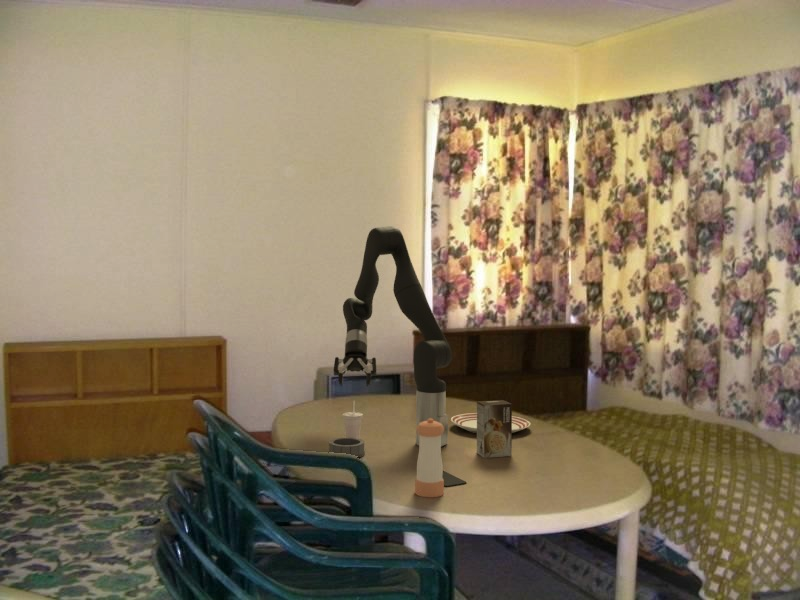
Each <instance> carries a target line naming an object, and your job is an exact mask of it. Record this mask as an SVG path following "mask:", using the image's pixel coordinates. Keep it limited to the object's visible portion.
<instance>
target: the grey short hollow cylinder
mask: <svg viewBox="0 0 800 600" xmlns="http://www.w3.org/2000/svg"><path fill="white" fill-rule="evenodd" d="M328 442H329V443H328V453H329V452H334V453H346V454H351V455H355V456H358V457H360V458H363V457H365V456H366V452H365V451H366V450H365V440H363V439H361V438H359V439H358V438H346V437H339V438H332V439H331V440H329V441H328Z"/></svg>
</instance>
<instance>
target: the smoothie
mask: <svg viewBox="0 0 800 600" xmlns="http://www.w3.org/2000/svg"><path fill="white" fill-rule="evenodd" d="M352 402H353V404H352V407H353V409H352V410H353V411H349V412H348V411H347V412H344V413H342V419H343V426H344V433H345V438H358V439H360V434H361V427H362V421H363V420H362V419H363V418H364V416H363V415H364V414H363V413H362V412H359V411H356V400H353V401H352Z"/></svg>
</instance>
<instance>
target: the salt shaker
mask: <svg viewBox="0 0 800 600" xmlns="http://www.w3.org/2000/svg"><path fill="white" fill-rule="evenodd" d="M416 430H417V433H418V434H419V435H420V438H419V446H418V455H417V462H416V478H415V479H414V480H415V481H414V487H415V489H414V491H415V492H414V493H415V494H416V495H417V496H419V497H422V498H438V497H441V496H443V495H444V494H445V493H444V490H445V489H444V488H445V487H444V480H443V478H442V474H443V471H444V470H443V469H444V468H443V467H444V466H443V459H442V458H443V456H442V452H441V450H442V447H441V435H442V434H443V432H444V427H443V425H442V424H441V423H439V422H437V421H434V420H433V419H431V418H429V419H428V420H427V421H423V422H421V423H419V424H418V426H417V429H416V428H415V431H416Z"/></svg>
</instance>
